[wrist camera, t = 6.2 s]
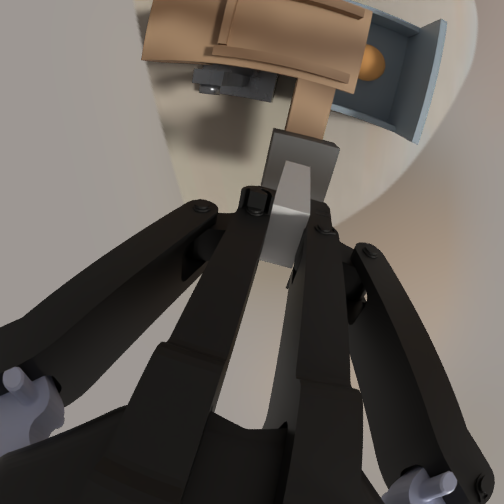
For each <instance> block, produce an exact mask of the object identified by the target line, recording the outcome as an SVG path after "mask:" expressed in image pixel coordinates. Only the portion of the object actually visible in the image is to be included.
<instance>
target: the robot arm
mask: <svg viewBox="0 0 504 504" xmlns="http://www.w3.org/2000/svg"><path fill="white" fill-rule="evenodd" d="M259 260H262V261H266V262H270V263H273V264H277V265H281V266H285V267H288V268H292V266H293V264H294V267H293V270H292V272H291V275H290V278H289V281H288V283H287V286H286V288H287V289H288V288H289V290H288V296H287V304H286V310H285V317H284V323H283V329H282V336H281V342H280V348H279V354H278V360H277V366H276V371H275V377H274V382H273V388H272V393H271V398H270V404H269V409H268V414H267V417H266V421H265V423H264V426H263V428H262V429H245V428H242V427H240V426H238V425H236V424H234V423H233V422H231V421H229V420H227V419H225V418H223V417H221V416H219V415H217V414H216V413H214V411H215V408H216V404H217V401H218V398H219V394H220V391H221V388H222V385H223V381H224V378H225V375H226V371H227V368H228V365H229V361H230V358H231V354H232V351H233V348H234V345H235V341H236V338H237V334H238V331H239V328H240V324H241V321H242V318H243V314H244V311H245V307H246V304H247V301H248V297H249V294H250V290H251V287H252V283H253V280H254V276H255V273H256V270H257V266H258V263H259ZM202 273H203V274H202ZM201 274H202V276H201V278H200V280H199V282H198V283H197V286H196V287H195V289H194V291H193V293H192V295H191V297H190V299H189V301H188V303H187V305H186V307H185V309H184V311H183V313H182V315H181V317H180V319H179V321H178V323H177V324H176V327H175V329H174V331H173V333H172V335H171V337H170V338H169V340H168V341H167V342H161V343H160V344H159V345H158V346H157V347H156V349H155V351H154V352H153V354H152V356H151V358H150V360H149V362H148V364H147V366H146V368H145V370H144V372H143V374H142V376H141V378H140V380H139V382H138V385H137V386H136V389H135V391H134V393H133V395H132V397H131V399H130V401H129V403H128V405H126V406H122V407H119V408H117V409H114V410H112V411H110V412H108V413H106V414H104V415H102V416H99V417H97V418H95V419H93V420H91V421H88V422H86V423H84V424H81V425H79V426H77V427H74V428H72V429H70V430H67V431H65V432H62V433H60V434H57V435H55V436H53V437H50V438H49V436H50V434H51V432H52V431H54V430H55V429H58V428H60V427H62V425H63V424H64V407H66V406H67V405H69V404H71V403H72V402H74V401H75V400H76V399H78V398H79V397H80V396H82V395H83V394H84V393H85V392H86V391H87V390H88V389H89V388H90V387H91V386H92V385H93V384H94V383H95V382H96V381H97V380H98V379H99V378H100V377H101V376H102V375H103V374H104V373H105V372H106V370H108V369H109V368H110V367H111V366H112V364H113V363H114V362H115V361H116V360H117V359H118V358H119V357H120V356H121V355H122V354H123V353H124V352H125V351H126V350H127V349H128V348H129V347H130V346H131V345H132V344H133V343H134V342H135V341H136V340H137V339H138V338H139V336H141V335H142V333H143V332H144V331H145V330H146V329H147V328H148V327H149V326H150V325H151V324H152V323H153V322H154V321H155V320H156V319H157V318H158V317H159V316H160V315H161V314H162V313H163V312H164V311H165V310H166V309H167V308H168V307H169V306H170V305H171V304H172V303H173V302H174V301H175V300H176V299H177V298H178V297H179V296H180V295H181V294H182V293H183V292H184V291H185V290H186V289H187V288H188V287H189V286H190V285H191V284H192V283H193V282H194V281H195V280H196V279H197V278H198V277H199V276H200V275H201ZM366 292H367V301H366V300H365V298H364V295H365V294H366ZM350 356H351V360H352V363H353V366H354V370H355V374H356V377H357V381H358V384H359V388H360V391H359V390H357V389H353V388H352V387H351V384H350V383H351V382H350ZM360 392H361V393H360ZM362 399H363V400H362ZM363 403H364V407H365V411H366V415H367V419H368V423H369V427H370V431H371V436H372V440H373V444H374V449H375V454H376V458H377V461H378V465H379V469H380V471H381V474H382V476H383V479H384V481H385V483H386V485H387V487H388V489H389V490H388V492H387V493H385V494H384V495H383V496H382V498H381V497H380V496H379V494H378V493H377V492H376V490H375V489H374V487H373V486H372V484H371V483H370V481H369V480H368V478H367V477H366V475H365V474H364V472H363V471H362V449H363ZM494 484H495V482H494V474H493V471H492V469H491V468H490V466H489V464H488V462H487V461H486V459H485V457H484V456H483V454H482V452H481V450H480V449H479V447H478V446H477V444H476V442H475V441H474V439H473V437H472V436H471V435H470V433H469V431H468V430H467V427H466V424H465V421H464V418H463V416H462V413H461V410H460V407H459V404H458V402H457V399H456V397H455V394H454V391H453V389H452V387H451V384H450V382H449V379H448V377H447V374H446V372H445V370H444V367H443V365H442V363H441V360H440V358H439V356H438V354H437V352H436V350H435V347H434V345H433V343H432V341H431V339H430V337H429V335H428V333H427V331H426V329H425V327H424V325H423V323H422V321H421V319H420V317H419V316H418V313H417V312H416V310H415V308H414V306H413V304H412V302H411V301H410V299H409V297H408V295H407V293H406V292H405V290H404V288H403V286H402V285H401V283H400V281H399V279H398V278H397V276H396V274H395V273H394V271H393V270H392V268H391V266H390V264H389V263H388V261H387V260H386V258H385V256H384V255H383V253H382V252H381V251H380V250H379V249H377V248H376V247H375V246H374V245H373V246H372V245H371V244H367V243H357V244H356V246H355V248H354V249H352V248H350V247H348V246H346V245H345V244H343V243H341V242H340V241H339V235H338V232H337V231H336V230H335V229H334V228H333V227H332V222H331V214H330V208H329V207H328V206H327V204H326V203H323V202H320V201H317V200H313V199H310V167H308V166H305V165H301V164H297V163H294V162H290V161H286V163H285V166H284V169H283V172H282V175H281V179H280V182H279V185H278V188H277V190H274V189H270V188H266V187H262V186H246V187H243V188H242V190H241V196H240V201H239V207H238V209H237V211H236V212H235V213H218V207H217V206H216V204H214V203H212V202H210V201H207V200H202V199H198V200H192V201H190V202H187V203H186V204H184V205H182V206H181V207H179V208H177V209H175V210H174V211H172V212H170V213H169V214H167V215H166V216H164V217H162V218H161V219H159V220H158V221H156V222H154V223H153V224H151V225H149V226H148V227H146V228H145V229H143V230H142V231H140V232H138V233H137V234H136V235H134V236H132V237H131V238H129V239H128V240H126V241H125V242H123V243H122V244H120V245H119V246H117V247H116V248H114V249H113V250H111V251H110V252H108V253H107V254H106V255H104V256H103V257H101V258H100V259H98V260H97V261H95V262H94V263H93V264H91V265H90V266H88V267H87V268H85V269H84V270H83V271H81V272H80V273H79V274H77V275H76V276H75V277H73V278H72V279H70V280H69V281H68V282H66V283H65V284H64V285H62V286H61V287H60V288H59V289H58V290H56V291H55V292H53V293H52V294H51V295H49V296H48V297H47V298H46V299H44V300H43V301H42V302H41V303H39V304H38V305H37V306H36V307H35V308H33V309H32V310H31V311H30V312H29V313H27V314H26V315H25V316H24V317H22V318H20V319H18V320H16V321H14V322H11V323H9V324H7V325H5V326H3V327H0V504H485V503H486V502H487V501H488V500H489V499H490V497H491V495H492V493H493V489H494Z"/></svg>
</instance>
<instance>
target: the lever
mask: <svg viewBox="0 0 504 504" xmlns="http://www.w3.org/2000/svg"><path fill="white" fill-rule="evenodd" d="M372 14H373V11H370V10H368V9H365V8H363V7H360V6H357V5H355V4H352V3H349V2H346V1H343V0H153V4H152V8H151V12H150V16H149V21H148V25H147V30H146V35H145V41H144V46H143V52H142V58H141V60H145V61H155V62H166V63H189V64H203V65H213V64H221V65H229V66H237V67H243V68H250V69H256V70H261V71H267V72H272V73H277V74H281V75H286V76H290V77H295V78H297V79H296V83H295V87H294V92H293V96H292V100H291V105H290V109H289V113H288V117H287V121H286V126H285V130H280V129H276V128H273V132H272V137H271V141H270V146H269V150H268V155H267V159H266V164H265V168H264V173H263V177H262V182H261V186H262V187H266V188H270V189H274V190H277V188H278V185H279V182H280V179H281V175H282V172H283V169H284V166H285V163H286V161H290V162H294V163H297V164H301V165H305V166H308V167H310V199H313V200H317V201H320V202H323V201H324V198H325V195H326V192H327V189H328V186H329V183H330V180H331V177H332V174H333V170H334V167H335V164H336V161H337V158H338V154H339V151H340V148H339V147H338V146H337V145H336V144H334V143H332V142H329V141H325V140H322V139H323V136H324V132H325V128H326V125H327V121H328V117H329V113H330V110H331V106H332V102H333V98H334V94H335V90H336V89H338V90H341V91H344V92H347V93H350V94H354V91H355V87H356V83H357V80H358V76H359V72H360V68H361V63H362V59H363V55H364V51H365V46H366V42H367V38H368V33H369V28H370V24H371V19H372Z"/></svg>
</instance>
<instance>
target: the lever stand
mask: <svg viewBox="0 0 504 504" xmlns="http://www.w3.org/2000/svg"><path fill="white" fill-rule="evenodd" d="M277 78H278V74H277V73H272V72H267V71H261V70H256V69H250V68H243V67H237V66H229V65H221V64H213V65H203V69H195V68H194V74H193V79H192V83H200V88H199V93H204V94H213V95H219V93H220V94H227V95H233V96H239V97H245V98H251V99H256V100H261V101H266V102H272V100H273V96H274V91H275V87H276V82H277Z"/></svg>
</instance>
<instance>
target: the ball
mask: <svg viewBox="0 0 504 504" xmlns="http://www.w3.org/2000/svg"><path fill="white" fill-rule="evenodd" d="M384 70H385V59H384V57H383V55H382V53H381V52H380V51H379V50H378V49H377V48H375V47H374V46H372V45H369V44H366V46H365V51H364V55H363V59H362V63H361V68H360V72H359V76H358V79H361V80H364V81H372V80H375V79H378V78H379V77H380V76H381V75H382V74H383V73H384Z"/></svg>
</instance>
